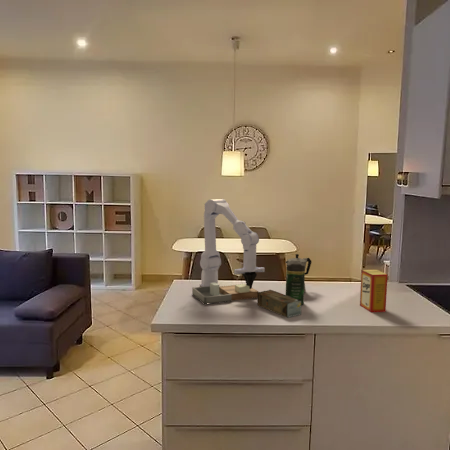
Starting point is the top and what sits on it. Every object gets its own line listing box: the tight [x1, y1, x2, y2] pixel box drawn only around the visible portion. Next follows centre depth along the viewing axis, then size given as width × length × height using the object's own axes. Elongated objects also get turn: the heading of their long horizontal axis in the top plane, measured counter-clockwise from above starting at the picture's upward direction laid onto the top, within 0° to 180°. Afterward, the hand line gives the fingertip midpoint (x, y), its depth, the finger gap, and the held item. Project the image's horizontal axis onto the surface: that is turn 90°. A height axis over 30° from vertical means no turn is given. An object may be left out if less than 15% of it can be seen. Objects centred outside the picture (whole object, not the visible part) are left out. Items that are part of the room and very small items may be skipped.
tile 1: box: [210, 282, 220, 296], centre depth 193 cm, size 5×5×2 cm
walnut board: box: [219, 284, 260, 302], centre depth 195 cm, size 14×14×3 cm
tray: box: [191, 286, 232, 305], centre depth 190 cm, size 17×12×3 cm
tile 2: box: [234, 283, 250, 293], centre depth 191 cm, size 5×5×2 cm
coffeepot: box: [285, 253, 312, 293], centre depth 204 cm, size 15×9×18 cm, turn 118°
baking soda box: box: [359, 269, 388, 313], centre depth 176 cm, size 10×6×16 cm
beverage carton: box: [256, 289, 302, 318], centre depth 173 cm, size 8×19×7 cm, turn 35°
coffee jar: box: [285, 260, 306, 306], centre depth 182 cm, size 10×8×19 cm
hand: (249, 288), depth 192 cm, fingers closed
